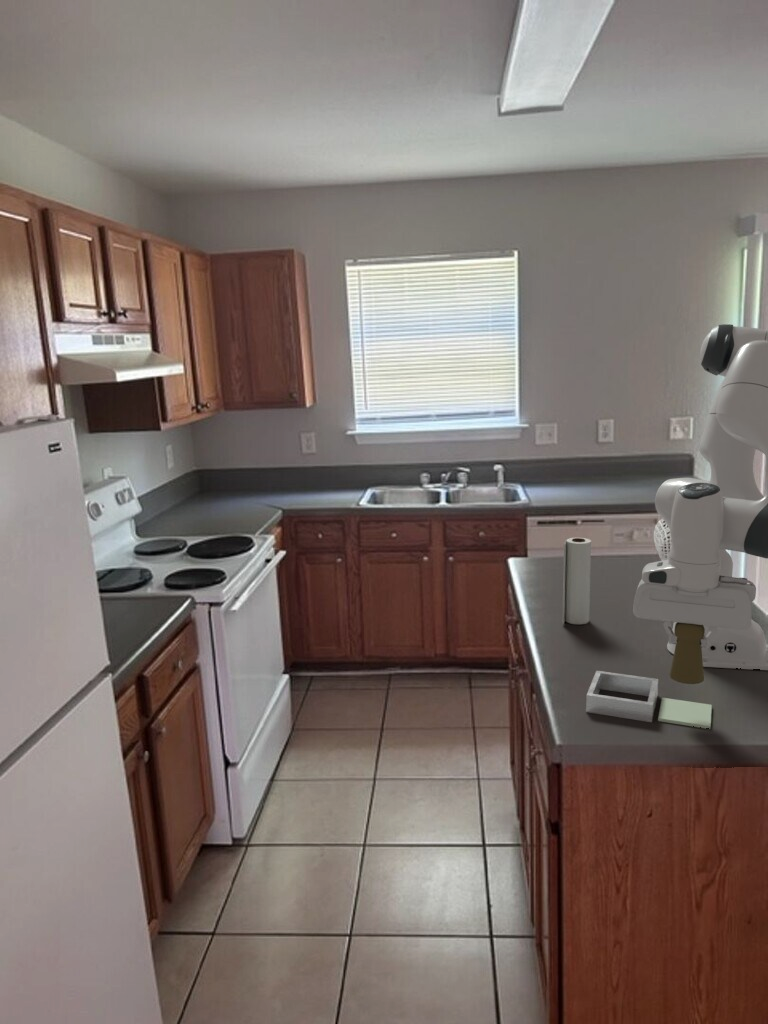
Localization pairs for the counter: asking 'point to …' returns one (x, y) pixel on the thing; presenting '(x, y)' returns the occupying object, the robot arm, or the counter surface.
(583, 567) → the paper towel roll
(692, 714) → the green pad
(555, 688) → the counter surface
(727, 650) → the robot arm
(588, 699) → the frame
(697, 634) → the olive green rounded piece
